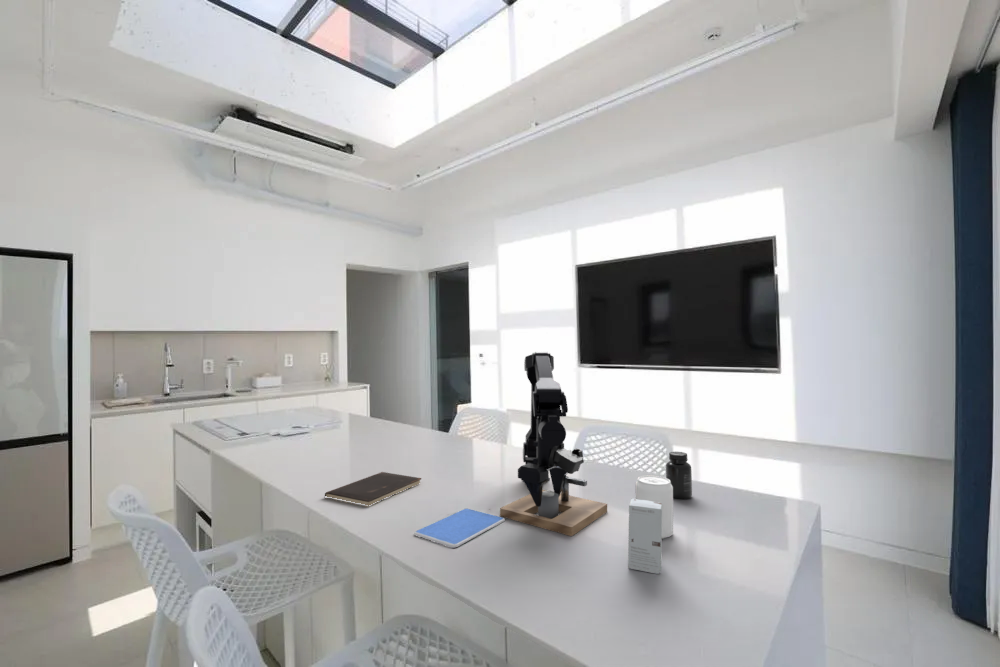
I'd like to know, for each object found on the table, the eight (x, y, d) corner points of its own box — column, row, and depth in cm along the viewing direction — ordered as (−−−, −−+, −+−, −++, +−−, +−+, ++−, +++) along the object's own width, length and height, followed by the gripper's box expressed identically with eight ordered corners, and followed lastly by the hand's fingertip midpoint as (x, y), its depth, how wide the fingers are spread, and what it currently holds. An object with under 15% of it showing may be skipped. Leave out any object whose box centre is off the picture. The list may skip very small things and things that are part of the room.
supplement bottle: (687, 492, 133) (687, 450, 134) (695, 500, 127) (695, 456, 127) (663, 491, 134) (663, 450, 134) (669, 499, 127) (669, 455, 128)
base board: (500, 516, 115) (500, 508, 115) (540, 496, 130) (540, 489, 130) (571, 536, 103) (571, 527, 103) (607, 511, 118) (607, 503, 118)
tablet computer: (466, 511, 119) (466, 506, 119) (506, 522, 112) (506, 517, 112) (412, 537, 103) (412, 531, 103) (455, 551, 96) (455, 545, 96)
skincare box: (627, 569, 88) (627, 505, 88) (630, 559, 92) (629, 497, 92) (661, 575, 85) (661, 509, 86) (662, 564, 90) (662, 501, 90)
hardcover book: (421, 485, 141) (421, 478, 141) (368, 509, 121) (368, 500, 121) (380, 478, 148) (380, 471, 148) (324, 500, 128) (324, 491, 128)
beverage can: (654, 543, 99) (654, 487, 99) (628, 529, 106) (627, 477, 107) (681, 536, 103) (680, 482, 103) (653, 523, 110) (653, 473, 110)
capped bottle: (534, 518, 113) (534, 493, 113) (545, 512, 117) (545, 488, 117) (552, 523, 110) (552, 497, 110) (562, 516, 114) (562, 491, 114)
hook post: (559, 500, 120) (559, 477, 121) (563, 498, 122) (563, 475, 122) (584, 505, 116) (584, 482, 116) (587, 503, 118) (587, 480, 118)
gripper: (557, 448, 102) (557, 520, 102) (594, 435, 117) (594, 497, 116) (516, 442, 109) (516, 509, 108) (556, 430, 124) (556, 489, 123)
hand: (548, 501), depth 114 cm, fingers open, 9 cm apart
